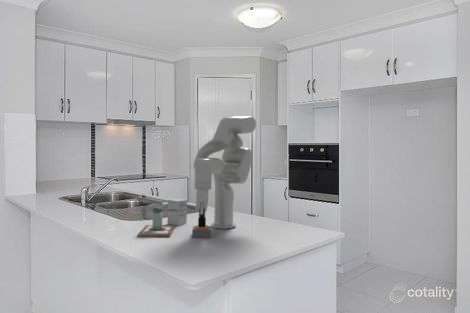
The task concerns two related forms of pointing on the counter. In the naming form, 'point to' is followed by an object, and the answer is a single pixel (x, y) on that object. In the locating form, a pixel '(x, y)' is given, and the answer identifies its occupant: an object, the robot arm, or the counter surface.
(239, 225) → the counter surface
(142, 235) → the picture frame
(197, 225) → the button
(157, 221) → the cylinder
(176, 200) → the supplement box
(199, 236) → the button housing
